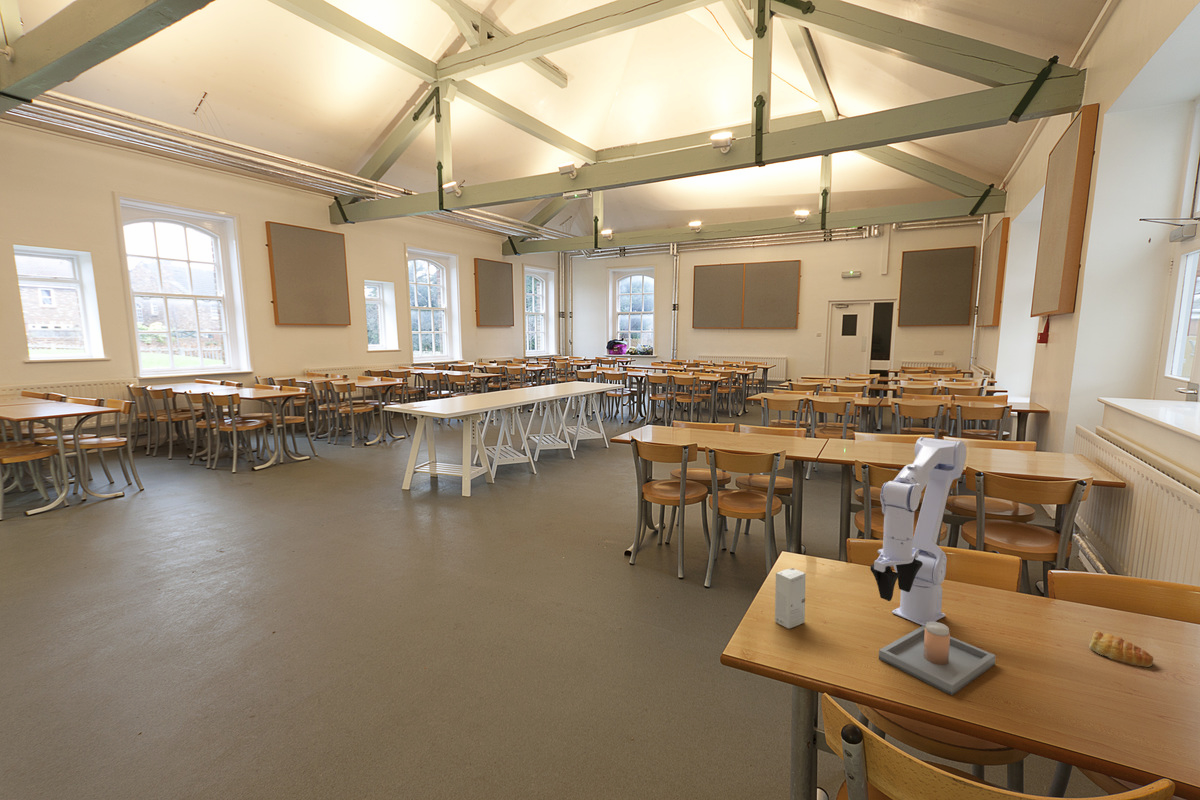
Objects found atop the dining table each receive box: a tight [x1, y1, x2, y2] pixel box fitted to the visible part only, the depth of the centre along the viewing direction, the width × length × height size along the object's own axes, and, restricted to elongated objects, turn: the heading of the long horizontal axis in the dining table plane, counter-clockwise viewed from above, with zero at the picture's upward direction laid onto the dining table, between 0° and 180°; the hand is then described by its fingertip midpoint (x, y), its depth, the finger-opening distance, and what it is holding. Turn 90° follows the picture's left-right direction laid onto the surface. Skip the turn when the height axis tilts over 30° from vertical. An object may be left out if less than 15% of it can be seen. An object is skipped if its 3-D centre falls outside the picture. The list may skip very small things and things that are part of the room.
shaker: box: [924, 621, 951, 665], centre depth 109 cm, size 4×4×7 cm
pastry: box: [1088, 630, 1154, 668], centre depth 111 cm, size 9×7×4 cm
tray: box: [878, 625, 996, 696], centre depth 109 cm, size 18×14×2 cm
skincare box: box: [774, 567, 806, 629], centre depth 125 cm, size 6×4×12 cm
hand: (895, 594), depth 118 cm, fingers open, 7 cm apart
